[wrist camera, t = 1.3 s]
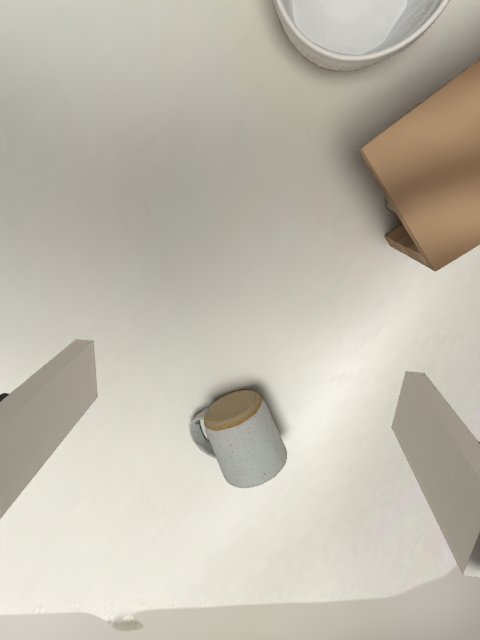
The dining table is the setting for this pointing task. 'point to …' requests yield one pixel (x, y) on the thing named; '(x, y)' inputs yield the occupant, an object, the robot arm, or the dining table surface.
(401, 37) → the ramekin
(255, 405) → the ceramic mug
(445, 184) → the walnut shelf
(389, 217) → the dining table surface
